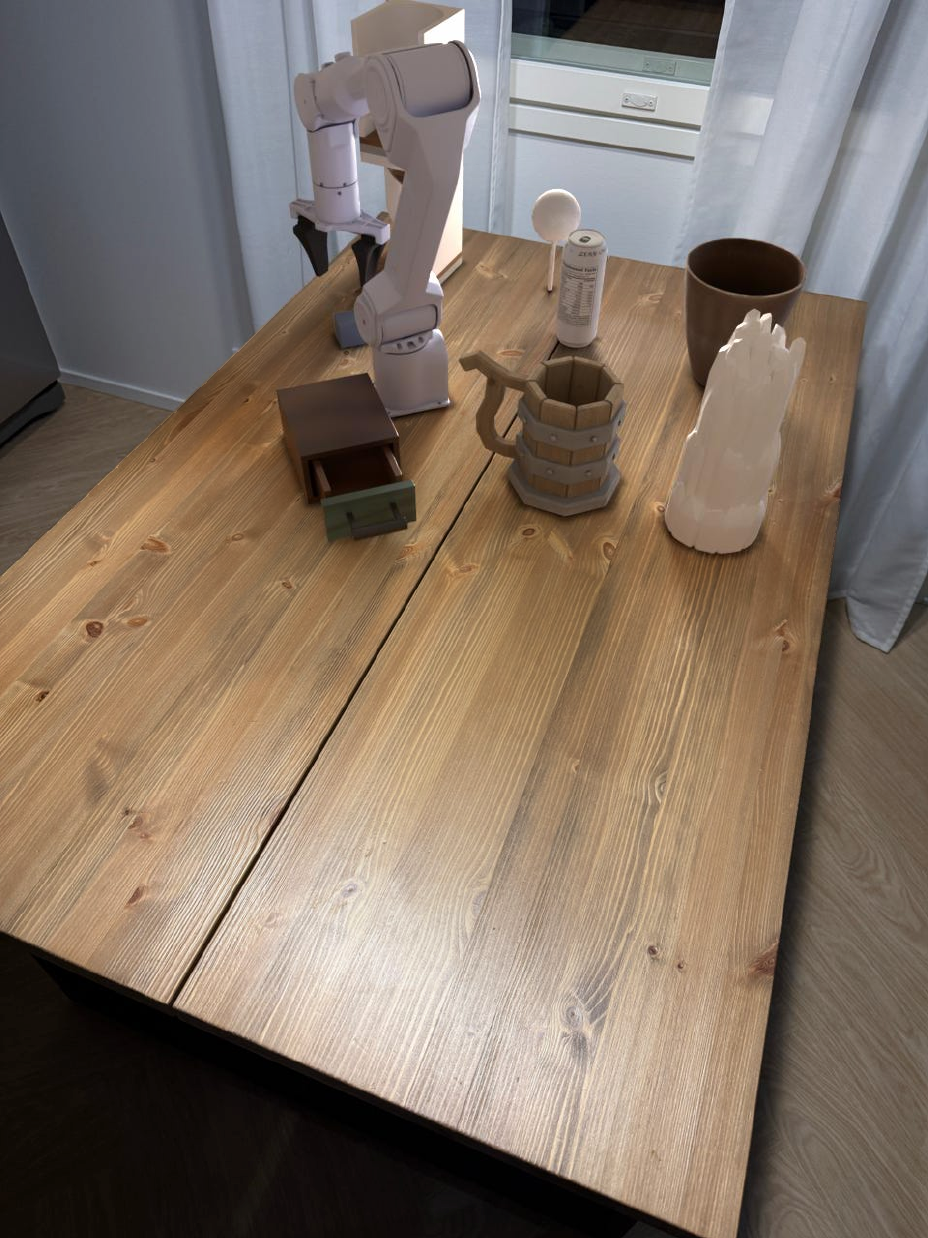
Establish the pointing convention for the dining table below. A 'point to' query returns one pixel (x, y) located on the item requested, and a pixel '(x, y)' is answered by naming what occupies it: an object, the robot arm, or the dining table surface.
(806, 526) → the dining table surface
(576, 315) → the energy drink can
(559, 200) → the lollipop
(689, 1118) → the dining table surface
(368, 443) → the cabinet
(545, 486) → the tankard
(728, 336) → the flower pot
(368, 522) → the drawer
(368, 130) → the display case
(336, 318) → the block
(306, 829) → the dining table surface
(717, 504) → the cream upright sculpted piece
